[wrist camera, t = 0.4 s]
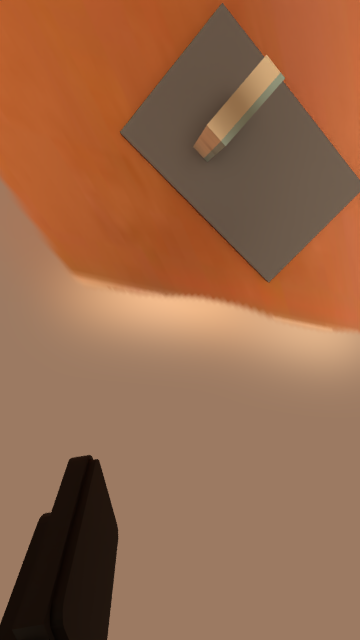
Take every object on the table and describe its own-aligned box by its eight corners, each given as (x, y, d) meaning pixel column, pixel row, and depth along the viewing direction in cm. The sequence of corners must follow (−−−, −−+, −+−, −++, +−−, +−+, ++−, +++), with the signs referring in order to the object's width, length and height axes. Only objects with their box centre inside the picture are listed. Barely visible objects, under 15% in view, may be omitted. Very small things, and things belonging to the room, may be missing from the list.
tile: (236, 96, 31) (266, 54, 23) (250, 112, 32) (285, 78, 23) (193, 146, 32) (206, 125, 24) (207, 162, 33) (225, 146, 24)
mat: (220, 7, 30) (222, 2, 29) (360, 187, 36) (364, 186, 35) (120, 133, 32) (119, 132, 32) (266, 280, 38) (268, 282, 38)
